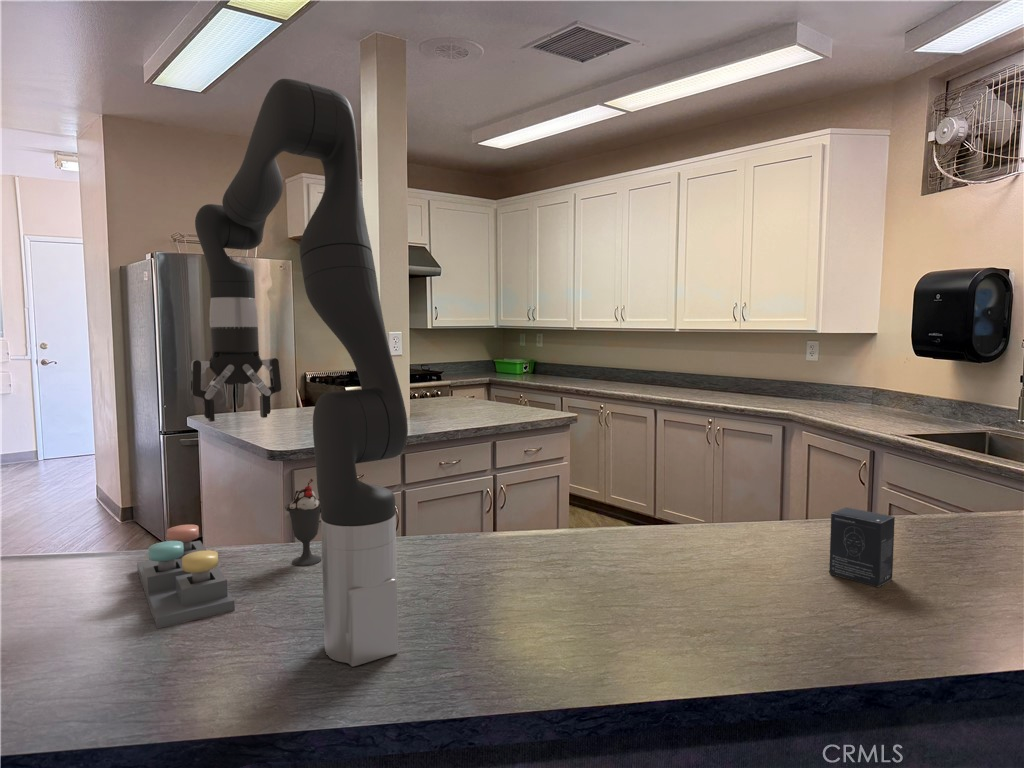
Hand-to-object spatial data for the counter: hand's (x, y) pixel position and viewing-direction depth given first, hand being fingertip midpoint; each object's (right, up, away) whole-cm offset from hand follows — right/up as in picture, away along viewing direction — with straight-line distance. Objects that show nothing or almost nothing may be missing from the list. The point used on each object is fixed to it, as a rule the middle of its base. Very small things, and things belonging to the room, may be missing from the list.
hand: (238, 419), depth 113 cm
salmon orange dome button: (-8, -22, -3) cm, 24 cm away
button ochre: (+1, -23, -16) cm, 28 cm away
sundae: (+11, -25, +2) cm, 28 cm away
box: (+105, -26, -6) cm, 108 cm away
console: (-5, -26, -10) cm, 29 cm away
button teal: (-6, -23, -11) cm, 27 cm away
